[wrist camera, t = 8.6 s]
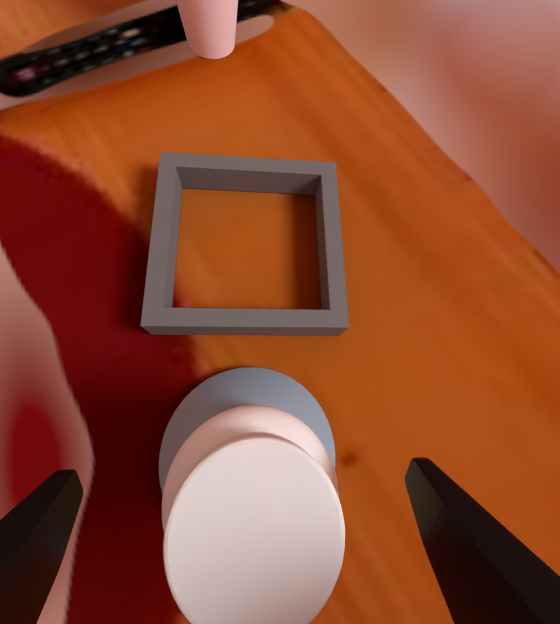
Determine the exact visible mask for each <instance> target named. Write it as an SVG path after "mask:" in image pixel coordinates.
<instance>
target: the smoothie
mask: <svg viewBox="0 0 560 624" xmlns="http://www.w3.org/2000/svg"><path fill="white" fill-rule="evenodd" d="M176 2H177V5H178V9H179V13H180V16H181V20H182V24H183V27H184V31H185V35H186V38H187V42H188V45H189V47H190V49H191V50H192V51H193V52H194V53H195V54H197V55H198V56H200V57H203V58H207V59H219V58H223V57H225V56H227V55H229V54H230V53H231V52H232V51H233V49H234V45H235V33H236V20H237V7H238V0H176Z"/></svg>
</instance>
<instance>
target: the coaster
mask: <svg viewBox="0 0 560 624" xmlns="http://www.w3.org/2000/svg"><path fill="white" fill-rule="evenodd" d="M241 405H263V406H270V407H274V408H277V409H280V410H283V411H285V412H287V413H290V414H292V415H293V416H295V417H296V418H298V419H299V420H301V421H302V422H303V423H304V424H306V425H307V426H308V427H309V428H310V429H311V430H312V431H313V432H314V433H315V435H316V436H317V437H318V438H319V439H320V441H321V443H322V444H323V446H324V447H325V449H326V451H327V453H328V455H329V457H330V459H331V461H332V464H333V467H334V470H335V447H334V440H333V436H332V431H331V428H330V426H329V423H328V420H327V418H326V416H325V414H324V412H323V410H322V408H321V407H320V405H319V404H318V402H317V401H316V399H315V398H314V397H313V396H312V395H311V394H310V393H309V391H307V390H306V389H305V388H304V387H303V386H302V385H301V384H299V383H298V382H296V381H295V380H293V379H292V378H290V377H288V376H286V375H284V374H282V373H279V372H276V371H274V370H269V369H265V368H256V367H246V368H237V369H232V370H228V371H225V372H222V373H219V374H217V375H215V376H213V377H211V378H209V379H207V380H206V381H204V382H203V383H201V384H200V385H198V386H197V387H196V388H195V389H194V390H192V391H191V392H190V393H189V394H188V395H187V396H186V397H185V398H184V400H183V401H182V402H181V403H180V405H179V406H178V407H177V409H176V410H175V412H174V414H173V416H172V417H171V419H170V421H169V423H168V426H167V428H166V430H165V433H164V436H163V440H162V443H161V449H160V455H159V479H160V486H161V490H162V495H163V491H164V486H165V482H166V478H167V475H168V472H169V469H170V467H171V465H172V462H173V460H174V458H175V456H176V455H177V453H178V451H179V449H180V448H181V447H182V445H183V444H184V442H185V441H186V440H187V439H188V438H189V436H190V435H191V434H192V433H193V432H194V431H195V430H196V429H197V428H198V427H199V426H201V425H202V424H203V423H205V422H206V421H207V420H209V419H211V418H212V417H214V416H216V415H218V414H220V413H222V412H224V411H227V410H229V409H232V408H234V407H237V406H241Z"/></svg>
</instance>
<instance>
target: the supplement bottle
mask: <svg viewBox="0 0 560 624" xmlns="http://www.w3.org/2000/svg"><path fill="white" fill-rule="evenodd" d="M162 523H163V530H164V541H163V558H164V566H165V574H166V577H167V581H168V585H169V587H170V590H171V592H172V595H173V597H174V600H175V601H176V603H177V605H178V607H179V609H180V610H181V612H182V613H183V614H184V616H185V617H186V618H187V619H188V621H189V622H190V623H191V624H309V623H310V622H311V621H312V619H313V618H314V617H315V616H316V615H317V614H318V613H319V612H320V610H321V609H322V608H323V606H324V605H325V603H326V602H327V600H328V598H329V596H330V595H331V593H332V591H333V588H334V586H335V584H336V581H337V579H338V576H339V573H340V569H341V566H342V561H343V555H344V548H345V526H344V519H343V513H342V508H341V505H340V501H339V489H338V483H337V477H336V473H335V470H334V467H333V464H332V461H331V459H330V457H329V455H328V453H327V451H326V449H325V447H324V446H323V444H322V443H321V441H320V439H319V438H318V437H317V436H316V435H315V433H314V432H313V431H312V430H311V429H310V428H309V427H308V426H307V425H306V424H304V423H303V422H302V421H301V420H299V419H298V418H296V417H295V416H293V415H292V414H290V413H287V412H285V411H283V410H280V409H277V408H274V407H270V406H263V405H241V406H237V407H234V408H232V409H229V410H227V411H224V412H222V413H220V414H218V415H216V416H214V417H212V418H211V419H209V420H207V421H206V422H205V423H203V424H202V425H201V426H199V427H198V428H197V429H196V430H195V431H194V432H193V433H192V434H191V435H190V436H189V438H188V439H187V440H186V441H185V442H184V444H183V445H182V447H181V448H180V449H179V451H178V453H177V455H176V456H175V458H174V460H173V462H172V465H171V467H170V469H169V472H168V475H167V478H166V482H165V486H164V491H163V497H162Z"/></svg>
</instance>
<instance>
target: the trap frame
mask: <svg viewBox="0 0 560 624" xmlns="http://www.w3.org/2000/svg"><path fill="white" fill-rule="evenodd" d="M182 188H187V189H207V190H227V191H246V192H266V193H286V194H306V195H315V206H316V224H317V241H318V258H319V276H320V293H321V310H300V309H226V308H172V302H173V291H174V279H175V267H176V256H177V244H178V233H179V221H180V209H181V198H182ZM141 327H143V328H144V329H145V330H146V331H148V332H149V333H150V334H152V335H333V336H339V335H340V334H342V333H343V332H344V331H345V330H347V329H348V328H349V319H348V307H347V295H346V283H345V271H344V258H343V246H342V234H341V222H340V210H339V198H338V186H337V174H336V163H331V162H314V161H298V160H282V159H266V158H249V157H233V156H217V155H200V154H184V153H168V152H160V160H159V168H158V177H157V186H156V195H155V203H154V212H153V221H152V230H151V239H150V247H149V256H148V265H147V274H146V282H145V291H144V300H143V309H142V317H141Z"/></svg>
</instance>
